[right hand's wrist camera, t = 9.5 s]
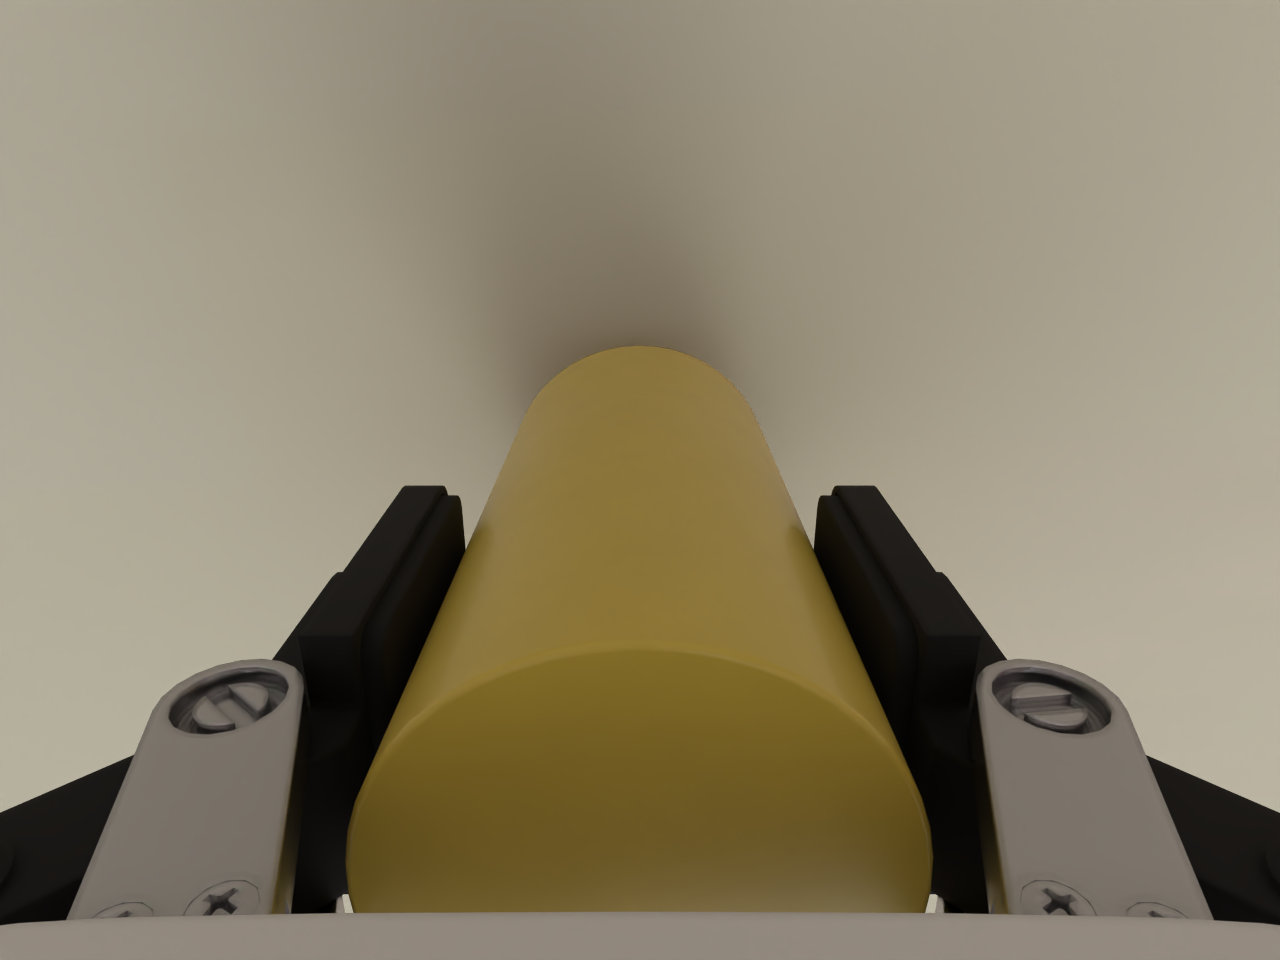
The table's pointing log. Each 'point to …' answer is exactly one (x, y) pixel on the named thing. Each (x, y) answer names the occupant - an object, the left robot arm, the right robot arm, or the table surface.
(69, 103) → the table surface
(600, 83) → the table surface
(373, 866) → the tin
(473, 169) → the table surface
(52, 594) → the table surface
